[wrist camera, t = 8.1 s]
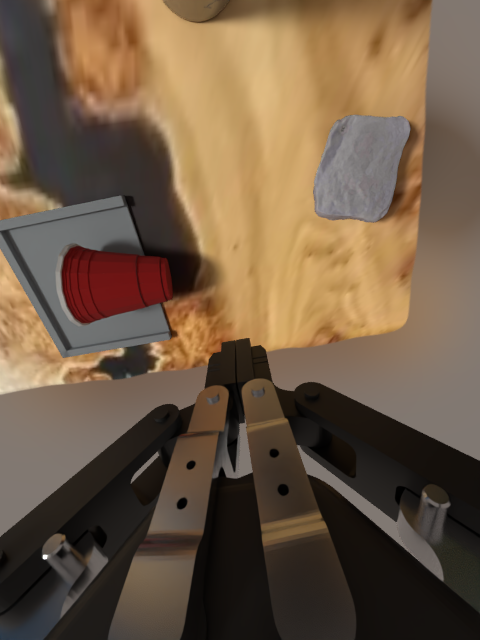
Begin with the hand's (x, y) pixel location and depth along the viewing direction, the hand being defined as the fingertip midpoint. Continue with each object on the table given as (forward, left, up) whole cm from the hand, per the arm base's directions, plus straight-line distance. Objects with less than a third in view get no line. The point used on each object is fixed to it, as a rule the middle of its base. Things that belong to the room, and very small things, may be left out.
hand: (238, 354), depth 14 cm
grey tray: (-11, -20, -27) cm, 35 cm away
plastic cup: (-4, -8, -23) cm, 25 cm away
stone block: (+2, +19, -28) cm, 33 cm away
